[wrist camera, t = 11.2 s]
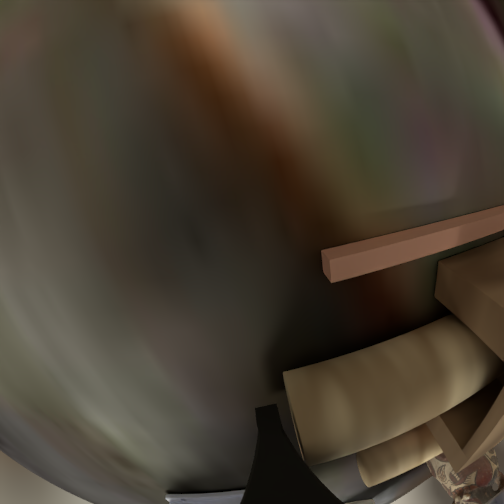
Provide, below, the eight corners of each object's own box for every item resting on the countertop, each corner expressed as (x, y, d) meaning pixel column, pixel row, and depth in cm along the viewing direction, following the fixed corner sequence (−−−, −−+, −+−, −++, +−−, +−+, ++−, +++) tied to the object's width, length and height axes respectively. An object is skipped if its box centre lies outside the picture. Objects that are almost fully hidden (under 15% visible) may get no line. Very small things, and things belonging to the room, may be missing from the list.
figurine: (440, 437, 17) (491, 527, 6) (488, 409, 18) (539, 482, 7) (414, 469, 20) (451, 547, 9) (460, 445, 21) (499, 511, 10)
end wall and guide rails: (330, 440, 14) (359, 523, 8) (320, 250, 9) (429, 383, 4) (481, 370, 14) (525, 422, 9) (522, 200, 10) (607, 239, 4)
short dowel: (353, 444, 16) (360, 480, 15) (366, 453, 13) (374, 492, 12) (444, 404, 16) (450, 437, 15) (466, 403, 13) (472, 440, 12)
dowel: (293, 424, 12) (310, 485, 8) (278, 354, 11) (297, 414, 7) (479, 347, 12) (524, 373, 8) (484, 282, 11) (537, 298, 8)
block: (410, 399, 13) (455, 473, 8) (438, 261, 10) (543, 342, 4) (480, 361, 13) (527, 416, 8) (513, 233, 10) (595, 281, 4)
